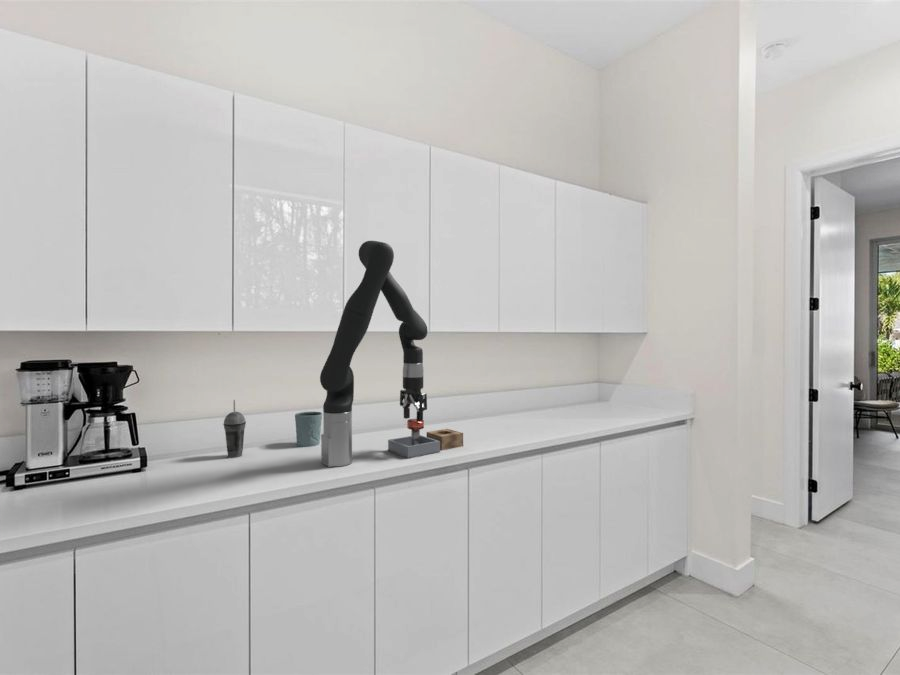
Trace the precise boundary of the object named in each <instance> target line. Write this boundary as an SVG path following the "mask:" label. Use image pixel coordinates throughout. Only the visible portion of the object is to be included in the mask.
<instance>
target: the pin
mask: <svg viewBox="0 0 900 675" xmlns="http://www.w3.org/2000/svg"><path fill="white" fill-rule="evenodd" d="M406 423H407V424H406V425H407V427H406V428H407V429H408V430H411V434H410V436H411V446H412V445H418V444H420V435H421V434H420V433H421V430H423V429H425V420H424V419H423V421H422V422H417V418H408V420H407V422H406Z"/></svg>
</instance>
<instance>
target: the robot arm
mask: <svg viewBox="0 0 900 675" xmlns="http://www.w3.org/2000/svg"><path fill="white" fill-rule="evenodd" d="M358 258H359V261H360V262H361V264H362V266H363V267H364V269H365V271H364V275H363V278H362V280H361V282H360V284H359V285H358V287H357V288H356V289H355V290H354V291H353V293H352V294H351V296H350V297H349V298H348V300H347V301H346V303H345V306H344V309H343V311H342V314H341V318H340V321H339V325H338V328H337V330H336V333H335V337H334V341H333V344H332V346H331V349H330V352H329V355H328V356H327V359H326V361H325V363H324V365H323V366H322V369H321V372H320V376H319V382H320V385H321V387H322V388H323V389H324V390H325V391H326V398H325V399H324V403H323V405H322V406H323V409H322V411H323V413H322V418H323V419H322V420H323V421H322V422H323V434H320V443H321V444H320V447H321V450H320V451H321V452H320V455H321V460H320V461H321V464H323V465H324V466H326V467H328V468H331V467H342V466H343V467H344V466H348V465H350V464H352V463H353V413H352V412H353V407H352V406H353V404H354V396H355V394H354V392H355V391H354V389H355V388H354V387H355V379H354V378H355V376H354V372H353V369H352V368H351V362H352V360H353V357H354V354H355V352H356V350H357V348H358V347H359V346H360V344H361V342H362V341H363V339H364V336H365V335H366V333H367V331H368V328H369V326H370V324H371V320H372V317H373V313H374V310H375V307H376V305H377V302H378V299H379V296H380V293H382V295H383V296H384V298H385V300H386V301H387V304H388V306H389V308H390V309H391V311H392V313H393V315H394V317H395V319H397V321H399V322H401V323H400V325H399V327H398V336H399V341H400V344H401V347H402V351H403V357H402V358H403V359H402V360H403V362H402V364H403V367H402V389H400V391H399V395H400V396H399V406H400V407H402V409H403V418H404V419H406V420H407V419H411V418H410V417H411V416H410V415H411V413H410V412H411V411H410V410H411V408H410V407H411V404H412V405H413V407H414V408H415V409H416V419H417V422H422V421H423V420H424V412H425V411H427V409H428V399H427V398H428V396H427V393H426V392H423V393H422V390H423V389H424V363H423V362H424V361H423V360H424V353H423V352H424V351H423V348H422V347H420V346H417V345H416V344H415V341H422V340H424V339H426V337H427V336H428V330H429V329H428V326H427V323H426V321H425V320H424V319H423V318H422V316H420V314H419V313H418V312H417V311H416V310H415V309H414V307H413V306H412V303H411V301H410V299H409V297H408V295H407V294H406V292H405V291H404V290H403V288H402V287H401V285H400V284H399V283H398V282H397V281H396V279H395V278H394V277H393V274H392V273H391V272H390V270H391V268H392V266H393V262H394V258H395V253H394V249H393V248H392V246H391V245H390V244H388V242H387V243H386V242H382V241H378V240H367V241H364V242H362V244H361V245H360V246H359V249H358Z"/></svg>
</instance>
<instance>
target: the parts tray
mask: <svg viewBox="0 0 900 675" xmlns="http://www.w3.org/2000/svg"><path fill="white" fill-rule="evenodd" d="M387 444H388V445H387V451H388V452H390V453H393V454H395V455H399V456H401V457H403V458H406V459H412V458H416V457H423V456H427V455H429V456H430V455H433V454H439V453H441V450H440V441H438V440H435V439H431V438H428V437H427V436H425V435H421V434H420V444H418V445H412V446H411V435H409V436H408V435H407V436H403V437H397V438H390V439H388V440H387Z"/></svg>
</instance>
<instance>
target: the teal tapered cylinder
mask: <svg viewBox="0 0 900 675" xmlns="http://www.w3.org/2000/svg"><path fill="white" fill-rule="evenodd" d="M322 418H323V413H322V412H320V411H301V412H296V413H295V414H294V420H295V433H296V446H297V447H302V448H308V447H309V448H311V447H315V446H319V445H320V443H321V428H322V427H321V426H322V420H323V419H322Z"/></svg>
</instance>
